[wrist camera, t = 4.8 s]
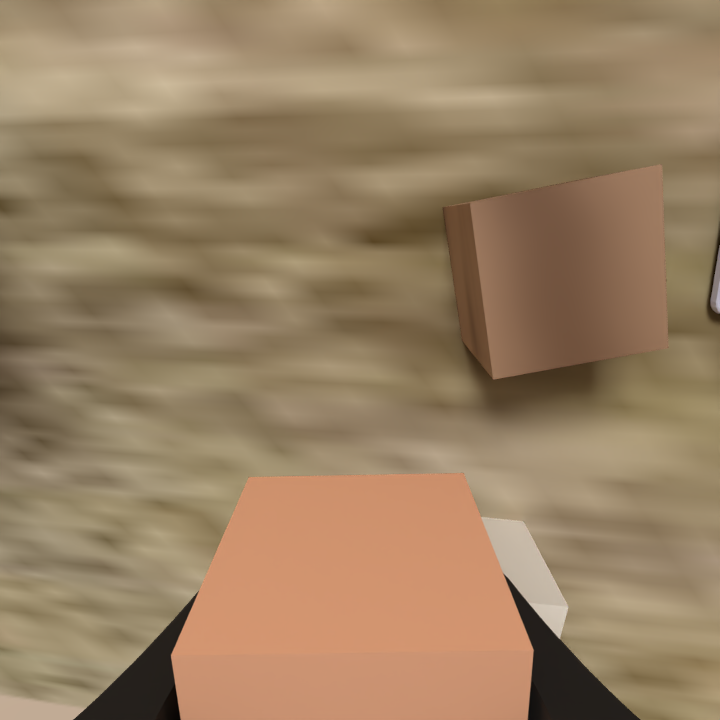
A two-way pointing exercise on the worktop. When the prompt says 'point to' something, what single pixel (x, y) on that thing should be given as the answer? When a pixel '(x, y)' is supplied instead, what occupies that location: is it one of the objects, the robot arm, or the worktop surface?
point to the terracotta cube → (354, 607)
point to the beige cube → (527, 570)
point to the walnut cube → (561, 272)
